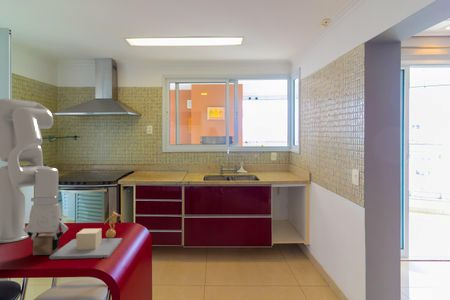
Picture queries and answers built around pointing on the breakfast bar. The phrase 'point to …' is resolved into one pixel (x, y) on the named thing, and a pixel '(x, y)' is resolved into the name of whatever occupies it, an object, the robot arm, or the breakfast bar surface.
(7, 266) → the breakfast bar surface
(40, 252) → the walnut cube
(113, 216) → the figurine
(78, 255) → the base plate
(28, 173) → the robot arm
